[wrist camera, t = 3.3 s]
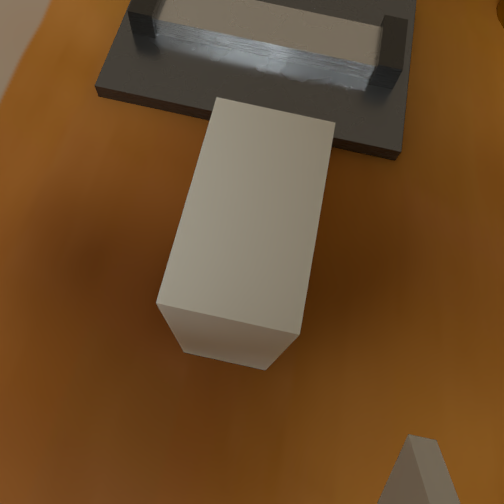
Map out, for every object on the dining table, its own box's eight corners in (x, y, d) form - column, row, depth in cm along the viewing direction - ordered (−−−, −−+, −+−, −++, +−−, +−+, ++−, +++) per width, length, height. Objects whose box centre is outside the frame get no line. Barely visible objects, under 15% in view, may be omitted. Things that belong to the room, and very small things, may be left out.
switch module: (222, 206, 27) (222, 76, 17) (293, 221, 27) (339, 101, 17) (183, 352, 24) (155, 303, 14) (265, 370, 24) (299, 335, 13)
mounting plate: (411, 7, 34) (427, -27, 31) (395, 160, 29) (412, 134, 26) (157, -47, 34) (152, -85, 32) (98, 96, 29) (86, 64, 27)
